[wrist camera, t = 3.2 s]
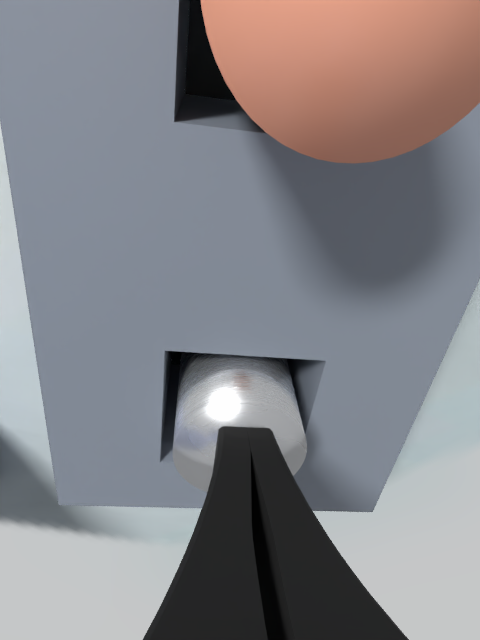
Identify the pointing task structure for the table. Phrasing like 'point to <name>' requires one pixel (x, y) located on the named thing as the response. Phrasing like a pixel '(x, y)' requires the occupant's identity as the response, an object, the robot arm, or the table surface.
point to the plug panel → (216, 257)
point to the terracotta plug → (349, 70)
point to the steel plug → (232, 409)
